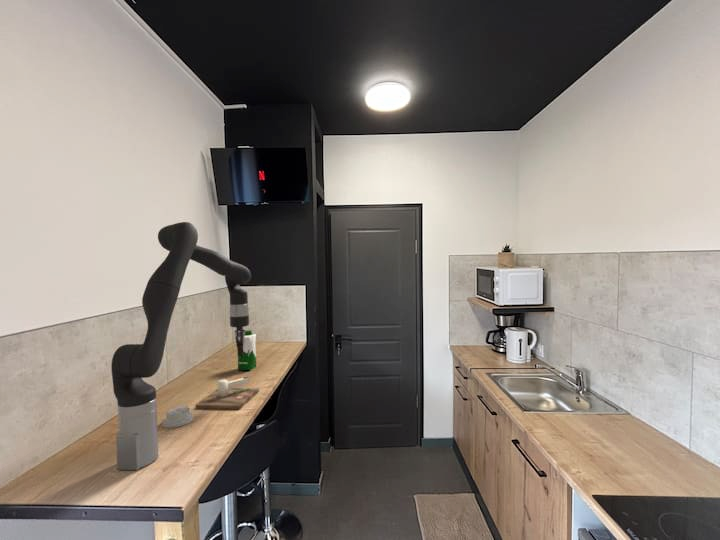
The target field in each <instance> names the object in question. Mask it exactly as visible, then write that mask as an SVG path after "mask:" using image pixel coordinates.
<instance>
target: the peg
mask: <svg viewBox="0 0 720 540" xmlns="http://www.w3.org/2000/svg"><path fill="white" fill-rule="evenodd" d="M216 384H217V389H218V397H226V396H228V389H231V388H240V387H242V386H245V385H249V376H245V377H244V376H243V377H242V378H238V379H234V380H228V379H227V378H226V379H220V380H217V382H216Z"/></svg>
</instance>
